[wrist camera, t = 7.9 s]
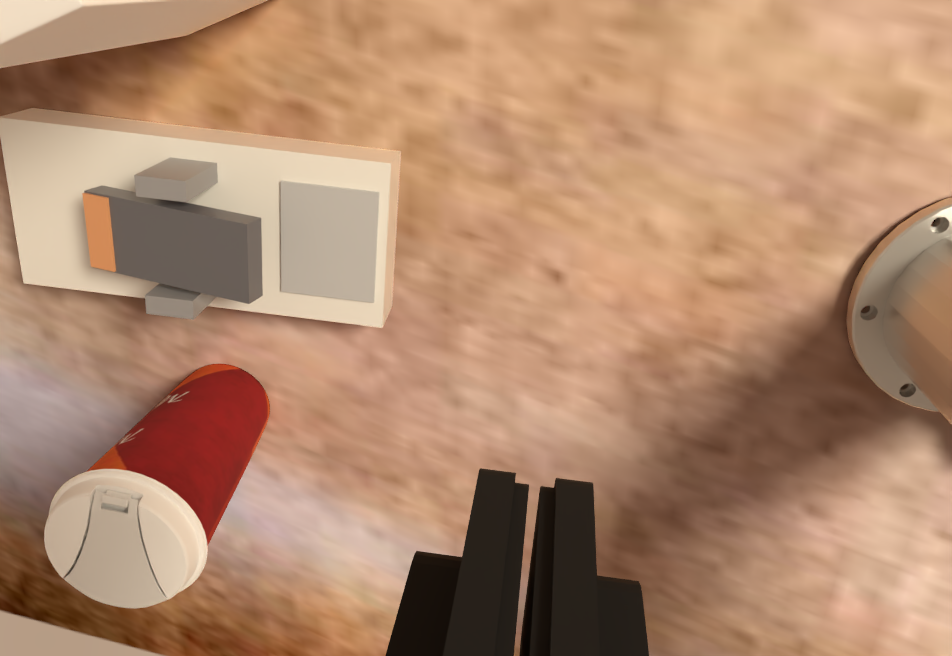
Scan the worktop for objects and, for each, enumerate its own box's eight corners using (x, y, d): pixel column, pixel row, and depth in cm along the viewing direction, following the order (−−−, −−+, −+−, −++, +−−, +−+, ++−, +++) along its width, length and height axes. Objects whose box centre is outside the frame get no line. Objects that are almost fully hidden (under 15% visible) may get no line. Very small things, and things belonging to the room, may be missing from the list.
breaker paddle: (261, 217, 37) (245, 225, 35) (262, 295, 38) (247, 305, 37) (102, 185, 39) (82, 191, 38) (110, 260, 40) (91, 268, 39)
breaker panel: (401, 151, 41) (376, 182, 35) (392, 306, 45) (368, 359, 39) (32, 107, 42) (-57, 131, 35) (54, 264, 45) (-23, 310, 39)
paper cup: (167, 336, 47) (27, 470, 34) (292, 361, 47) (199, 505, 34) (165, 443, 50) (37, 602, 37) (282, 466, 50) (193, 633, 38)
